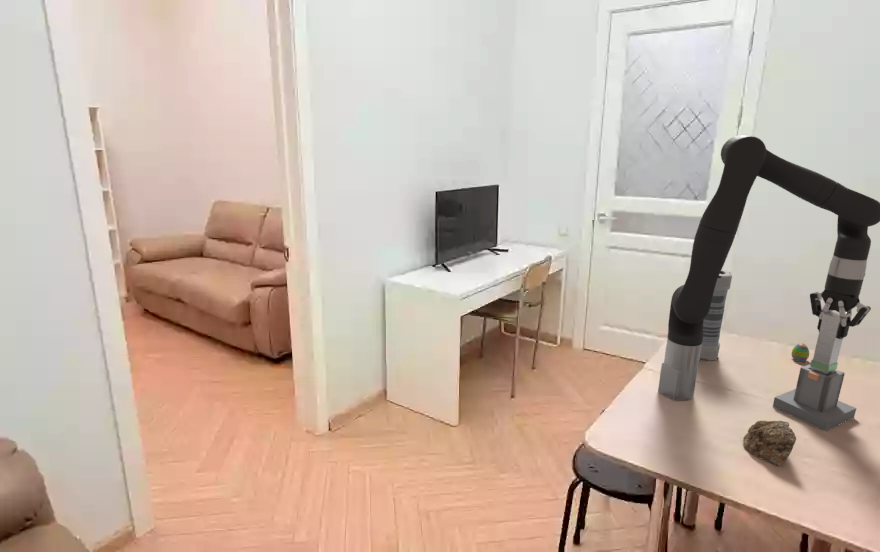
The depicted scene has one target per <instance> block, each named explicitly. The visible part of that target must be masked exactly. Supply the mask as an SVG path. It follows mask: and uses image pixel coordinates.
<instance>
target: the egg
mask: <svg viewBox="0 0 880 552" xmlns="http://www.w3.org/2000/svg"><path fill="white" fill-rule="evenodd" d="M809 356H810V349H809V348H808V346H807V344H805V343H803V342H800V343H798V344H795V346H794V347H793V348H792V351H791V357H792V359H793V360H794V361H796V362H801V363H803V362H806V361H807V360H808V359H809Z"/></svg>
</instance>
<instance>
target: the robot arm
mask: <svg viewBox="0 0 880 552" xmlns="http://www.w3.org/2000/svg"><path fill="white" fill-rule="evenodd" d="M720 159H721V161H722V163H723V170H722V174H721V178H720V181H719V184H718V187H717V189H716V192H715V193H714V195H713V197H712V198H711V199H710V201H709V203H708V205H707V206H706V208H705V210H704V212H703V213H702V216H701V219H700V220H699V224H698V227H697V229H696V232H695V236H694V239H693V243H692V250H691V257H690V264H689V271H688V274H687V277H686V280H685V282H684V284H683V285H681V286H679V287H677V288H676V289H675V290H674V292H672V293H673V294H672V296H671V300H670V307H669V315H668V325H667V326H668V328H667V329H668V330H667V338H666V339H667V340H666V346H665V352H664V360H663V362H662V363H661V367H660V373H659V381H658V387H657V388H658V389H657V392H658V393H660V394H662V395H664V396H665V397H667V398H669V399H671V400H673V402H674V401H689V400H691V399H693V398H694V396H695V395H694V394H695V390H696V382H697V376H698V369H699V363H700V360H701V359H700V353H701V347H702V341H703V321H704V318H705V317H706V316H707V314H708V313H709V310H710V307H711V302H712V298H713V293H714V289H715V285H716V282H717V279H718V276H719V274H720V272H721V270H723V268H724V266H725V263H726V260H727V258H728V255H729V253H730V251H731V247H732V245H733V243H734V240H735V237H736V234H737V232H738V229H739V226H740V222H741V220H742V216H743V213H744V210H745V207H746V204H747V200H748V197H749V194H750V191H751V190H752V187H753V185H754V183H755V181H756V180H757V177H759V178H760V179H763V180H766V181H768V182H770V183H772V184H774V185H776V186H778V187H779V188H781V189H783V190H785V191H787V192H788V193H790V194H791V195H793V196H796V197H797V198H799V199H800V200H803V201H805V202H807V203H809V204H812V205H814V206H815V207H818V208H820V209H824V210H825V211H829V212H831V213H833V214H834V215H837V223H836V225H837V226H836V227H837V228H836V232H837V237H836V238H837V239H836V242H835V245H834V246H835V247H834V250H833V253H832V254H833V255H832V258H831V259H830V262H829V267H828V270H827V275H826V280H825V284H824V290H823V291H822V292H818V291H815V292H812V293H810V294H809V300H810V301H809V302H810V305H811V313H812V315H813V316H817V317H818V322H817V327H816V328H817V330H818V332H819V331H820V327H821V322H822V318H823V314H824V313H826V314H827V313H829V312H832V311H833V312H836V313H839V314H840V318H842V319H841V326H840V328H839V332H838V337H837V338H838V339H843V340H844V338H846V337H847V336H848V333H849V328H850V327H851V328H852V327H853V328H854V327H856V326H859V325H860V324H861V323H862V321H863V320H864V319H865V317H866V316H868V313H869V312H870V311H871V310H872V308H871V307H870V306H869V305H864V304H863V303H861V301H860V294H861V290H862V287H863V282H864V278H865V277H866V269H867V264H868V258H869V254H870V249H871V245H872V240H871V238H870V236H869V234H868V229H869V227H872V226H875V225H877V224H879V223H880V201H878V200H877V199H874V198H872V197H870V196H868V195H865V194H863V193H860V192H858V191H856V190H853V189H850V188H848V187H846V186H845V185H843V184H841V183H839V182H838V181H837V180H834V179H831V178H829V177H828V176H825V175H823V174H821V173H818V172H816V171H815V170H812V169H809V168H806V167H804V166H801V165H798V164H796V163H793V162H790V161H788V160H786V159H784V158H782V157H780V156H778V155H776V154H775V153H773V152H771V151H770V150H768V149H767V147H766V144H765V143H764V141H763V140H761V138H759V137H757V136H753V135H749V134H739V135H736V136H732V137H730V138H729V139H727V141H725V143H724V144H722V147H721V150H720ZM821 301H823V302H824V305H823V307H822V303H821ZM854 308H856V314H855V315H854V316H853V313H852V312H853V311H852V310H853V309H854ZM852 316H853V318H852Z"/></svg>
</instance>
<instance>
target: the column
mask: <svg viewBox="0 0 880 552" xmlns="http://www.w3.org/2000/svg"><path fill="white" fill-rule="evenodd" d="M841 319H842V318H840V314H839V312H837V311H834V310H833V311H832V312H829V313H827V314H826V313H824V314H823V318H822V322H821V327H820V331H819V330H818V335H817V341H816V344H815V345H816V346H815V348H814V353H813V357H812V359H811V360H810V366H811V370H813V371H816V372H818V373H821V374H823V375H826V376H829V375H831V374H834V372H835V370H838V369H837V368H838V364H839V362H838V360H839V356H840V351H841V348H842V343H843V340H844V338H843V339H838V338H837V337H838V332H839V328H840V326H841Z"/></svg>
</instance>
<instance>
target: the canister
mask: <svg viewBox="0 0 880 552" xmlns="http://www.w3.org/2000/svg"><path fill="white" fill-rule="evenodd" d="M732 278H733V275H732V274H731V272H730V271H728V270H725V269H722V270H721V272H720V274H719V276H718V279H717V282H716V285H715V289H714V293H713V298H712V302H711V307H710V310H709V313H708V314H707V316H706V317H705V318H704V321H703V341H702V347H701V353H700V359H699V360H703V361H715V360H717V359H718V357H719V352H720V348H721V347H720V346H721V343H720V335H721V328H722V324H723V319H724V315H725V314H724V313H725V307H726V300H727V295H728V291H729V290H730V289H731V283H732Z"/></svg>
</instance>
